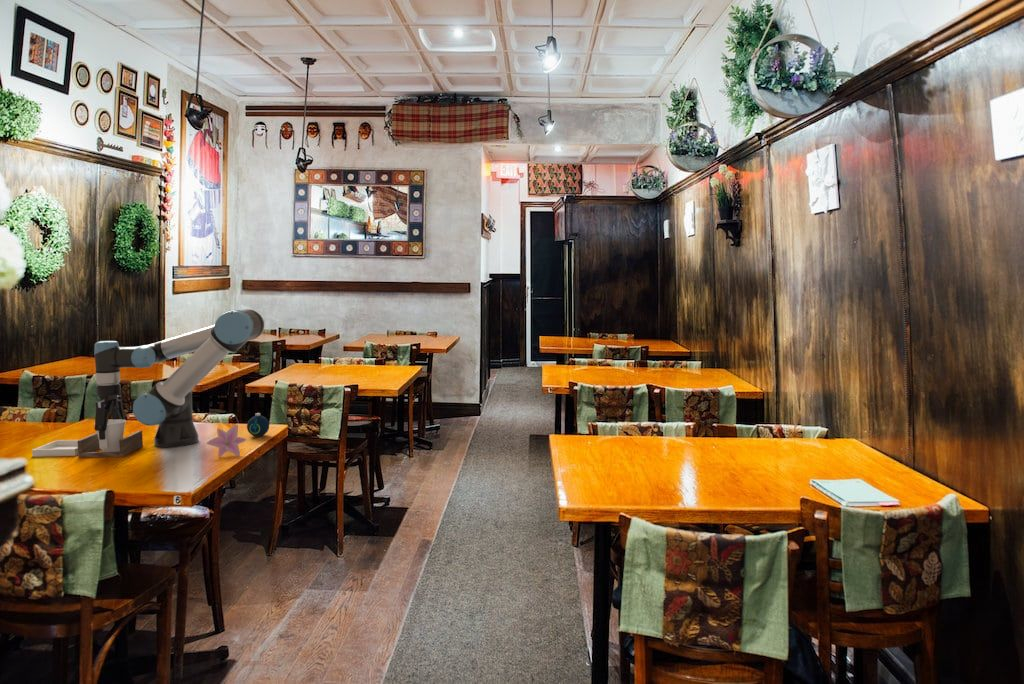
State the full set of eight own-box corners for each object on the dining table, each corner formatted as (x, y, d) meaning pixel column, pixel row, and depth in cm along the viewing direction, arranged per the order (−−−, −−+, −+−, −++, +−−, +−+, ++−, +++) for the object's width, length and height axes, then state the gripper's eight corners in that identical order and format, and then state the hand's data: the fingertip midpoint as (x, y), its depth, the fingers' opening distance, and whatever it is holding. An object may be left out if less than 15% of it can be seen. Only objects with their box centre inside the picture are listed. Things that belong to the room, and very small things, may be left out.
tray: (96, 445, 246) (96, 439, 245) (75, 455, 232) (74, 449, 231) (56, 446, 244) (56, 440, 244) (32, 456, 230) (32, 449, 230)
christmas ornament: (242, 437, 260) (241, 412, 259) (257, 433, 268) (256, 409, 267) (259, 439, 257) (258, 414, 257) (274, 434, 265) (273, 410, 264)
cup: (112, 455, 232) (111, 425, 231) (88, 454, 234) (87, 424, 233) (133, 448, 241) (132, 419, 240) (110, 447, 243) (109, 418, 242)
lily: (202, 458, 233) (203, 438, 228) (219, 439, 243) (221, 419, 238) (234, 469, 233) (236, 449, 228) (250, 449, 243) (252, 429, 239)
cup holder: (142, 446, 246) (142, 430, 245) (123, 456, 231) (122, 439, 230) (100, 446, 244) (100, 431, 244) (78, 457, 229) (77, 440, 229)
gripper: (112, 379, 246) (115, 437, 248) (80, 388, 224) (83, 452, 226) (133, 379, 247) (136, 437, 249) (103, 388, 225) (106, 452, 227)
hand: (111, 444), depth 237 cm, fingers closed on cup, 9 cm apart
